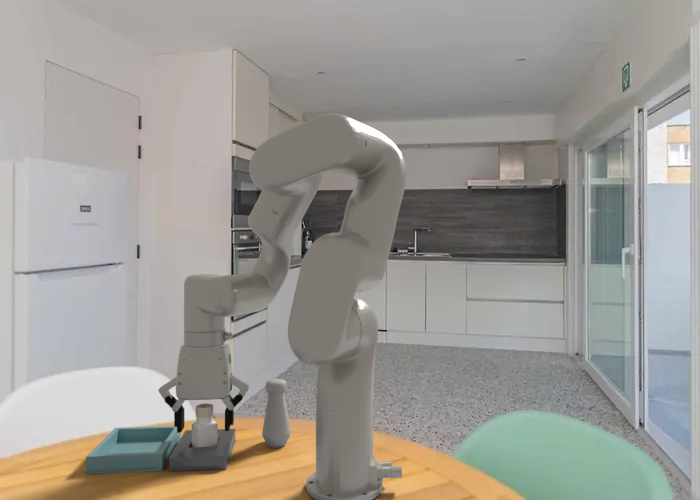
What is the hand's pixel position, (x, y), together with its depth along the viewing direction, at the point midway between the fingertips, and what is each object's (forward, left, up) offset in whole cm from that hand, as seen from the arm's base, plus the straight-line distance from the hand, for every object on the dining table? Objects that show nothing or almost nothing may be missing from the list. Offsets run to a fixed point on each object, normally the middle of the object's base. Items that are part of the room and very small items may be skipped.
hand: (204, 429), depth 102 cm
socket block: (0, 0, -5) cm, 5 cm away
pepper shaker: (0, 0, -5) cm, 5 cm away
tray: (+13, -1, -5) cm, 14 cm away
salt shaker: (-14, -4, -5) cm, 15 cm away
